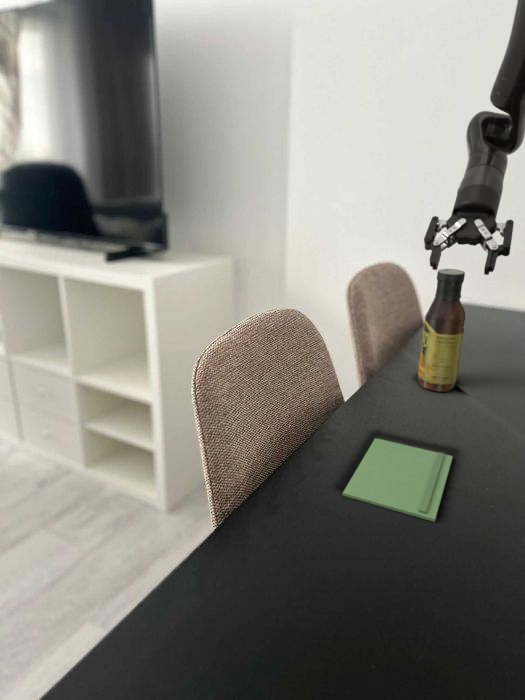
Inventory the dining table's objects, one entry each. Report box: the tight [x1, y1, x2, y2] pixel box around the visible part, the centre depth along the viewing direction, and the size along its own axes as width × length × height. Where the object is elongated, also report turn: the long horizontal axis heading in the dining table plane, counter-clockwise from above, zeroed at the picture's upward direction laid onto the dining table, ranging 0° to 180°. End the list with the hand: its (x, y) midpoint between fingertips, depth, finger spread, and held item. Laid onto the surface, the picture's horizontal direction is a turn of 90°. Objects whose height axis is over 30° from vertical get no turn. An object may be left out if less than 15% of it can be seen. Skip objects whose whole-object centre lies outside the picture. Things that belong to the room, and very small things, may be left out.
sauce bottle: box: [417, 268, 466, 393], centre depth 84 cm, size 6×6×20 cm
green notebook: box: [342, 437, 454, 523], centre depth 61 cm, size 14×10×1 cm
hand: (459, 269), depth 88 cm, fingers open, 8 cm apart
